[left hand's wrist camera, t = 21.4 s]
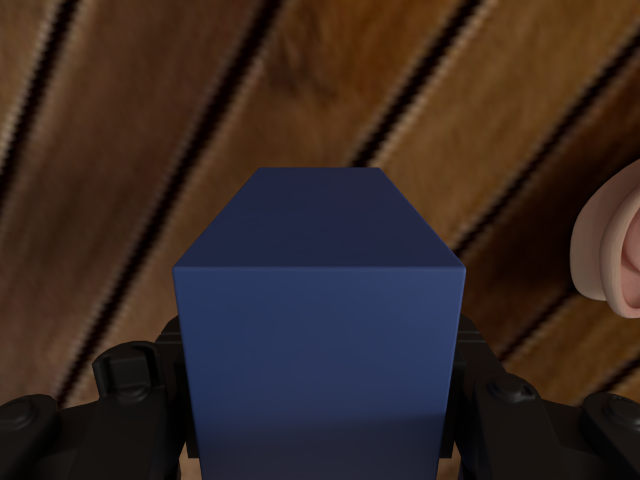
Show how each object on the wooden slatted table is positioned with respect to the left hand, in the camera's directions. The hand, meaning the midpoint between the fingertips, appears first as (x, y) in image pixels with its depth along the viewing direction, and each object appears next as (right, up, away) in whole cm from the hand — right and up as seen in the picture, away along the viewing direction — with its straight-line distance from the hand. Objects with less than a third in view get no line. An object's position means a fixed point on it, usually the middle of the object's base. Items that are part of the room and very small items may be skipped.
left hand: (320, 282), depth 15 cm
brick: (0, +1, +2) cm, 2 cm away
